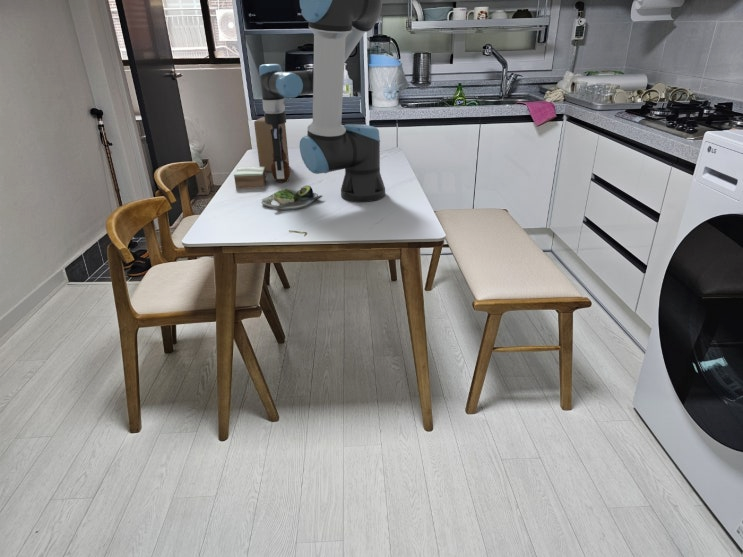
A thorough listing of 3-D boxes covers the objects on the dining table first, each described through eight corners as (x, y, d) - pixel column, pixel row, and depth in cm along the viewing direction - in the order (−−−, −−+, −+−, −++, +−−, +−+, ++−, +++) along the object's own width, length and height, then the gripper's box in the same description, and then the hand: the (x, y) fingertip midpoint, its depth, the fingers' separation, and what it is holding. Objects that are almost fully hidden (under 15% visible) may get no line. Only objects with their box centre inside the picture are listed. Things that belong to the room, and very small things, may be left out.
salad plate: (296, 217, 148) (295, 202, 146) (249, 210, 155) (247, 196, 153) (327, 198, 164) (326, 185, 162) (283, 193, 171) (281, 180, 168)
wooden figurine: (269, 182, 182) (265, 141, 175) (279, 178, 186) (275, 138, 179) (284, 184, 179) (280, 142, 172) (293, 180, 183) (289, 139, 176)
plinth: (263, 187, 176) (262, 173, 174) (236, 188, 175) (233, 174, 173) (266, 179, 185) (265, 166, 182) (240, 180, 184) (238, 167, 182)
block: (289, 166, 202) (285, 116, 193) (283, 172, 193) (278, 120, 184) (266, 166, 203) (260, 116, 194) (259, 172, 194) (252, 120, 185)
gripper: (283, 115, 163) (290, 182, 173) (286, 107, 180) (292, 168, 191) (260, 116, 162) (268, 183, 173) (266, 108, 179) (273, 169, 190)
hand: (281, 175), depth 182 cm, fingers closed on wooden figurine, 7 cm apart
